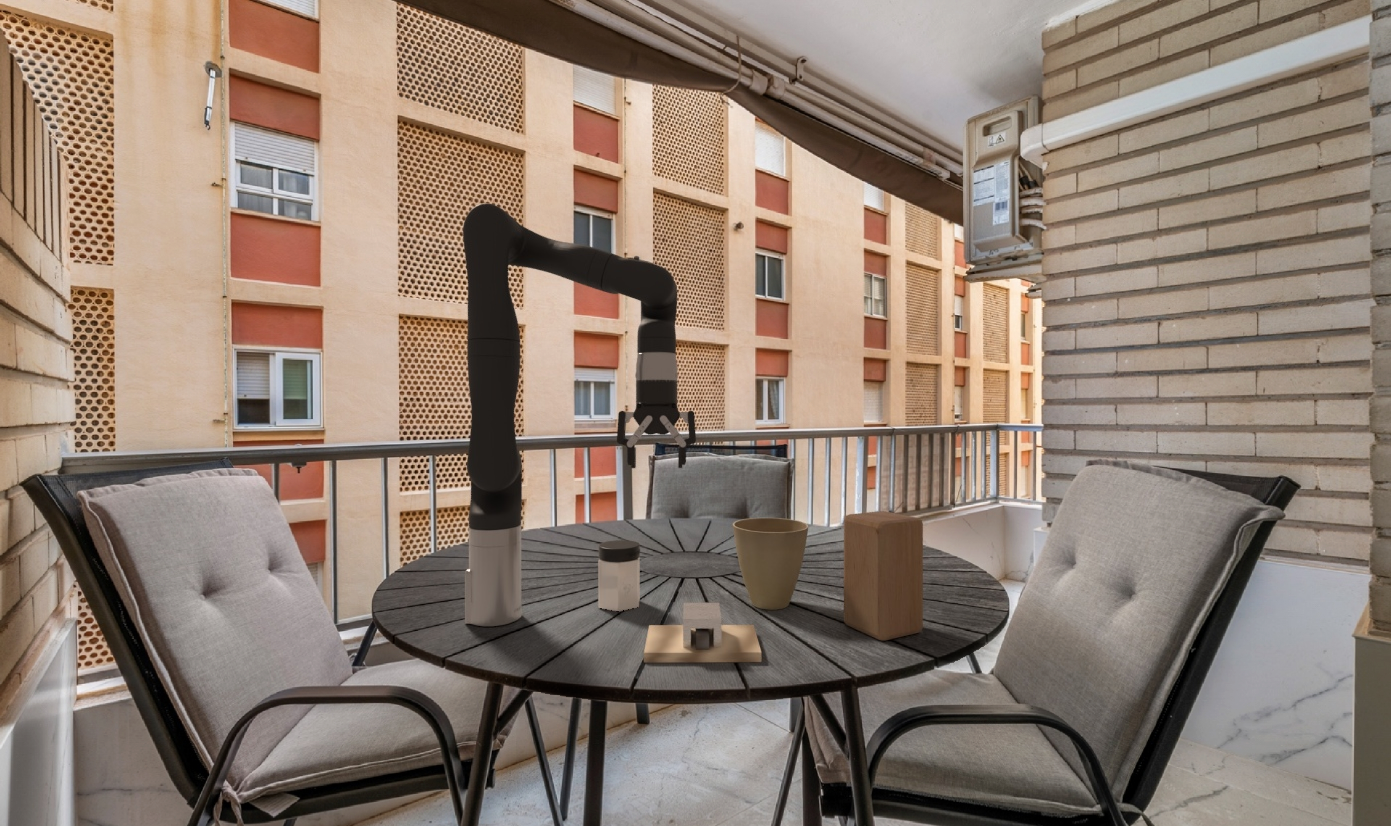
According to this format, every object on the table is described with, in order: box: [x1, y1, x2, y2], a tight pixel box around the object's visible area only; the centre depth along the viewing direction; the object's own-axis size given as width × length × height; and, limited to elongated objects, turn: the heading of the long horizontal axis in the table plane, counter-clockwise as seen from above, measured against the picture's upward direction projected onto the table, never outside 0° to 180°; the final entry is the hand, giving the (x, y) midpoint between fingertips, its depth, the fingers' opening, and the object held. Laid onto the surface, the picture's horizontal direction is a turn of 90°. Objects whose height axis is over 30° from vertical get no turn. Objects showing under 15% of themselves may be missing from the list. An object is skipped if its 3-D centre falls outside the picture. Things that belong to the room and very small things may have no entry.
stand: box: [643, 624, 762, 664], centre depth 100 cm, size 18×12×4 cm, turn 90°
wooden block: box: [843, 510, 924, 642], centre depth 108 cm, size 10×10×20 cm
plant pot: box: [732, 517, 809, 611], centre depth 122 cm, size 15×15×16 cm
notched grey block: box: [682, 602, 722, 648], centre depth 100 cm, size 6×8×4 cm
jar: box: [597, 539, 641, 612], centre depth 122 cm, size 9×8×12 cm
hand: (656, 467), depth 112 cm, fingers open, 8 cm apart
